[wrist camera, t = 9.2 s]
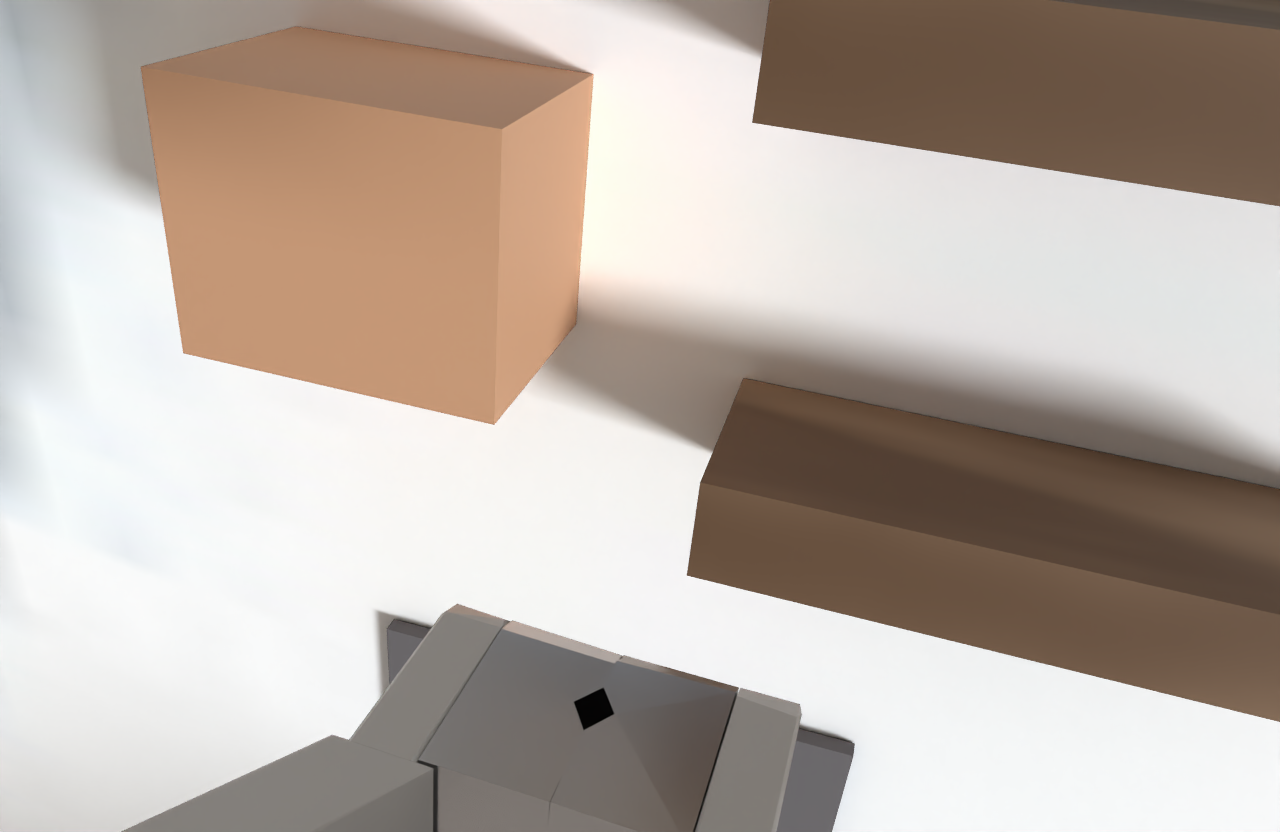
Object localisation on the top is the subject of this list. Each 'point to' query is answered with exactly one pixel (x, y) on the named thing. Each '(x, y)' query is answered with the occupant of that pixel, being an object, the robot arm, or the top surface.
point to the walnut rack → (993, 460)
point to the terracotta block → (373, 213)
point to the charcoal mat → (811, 771)
